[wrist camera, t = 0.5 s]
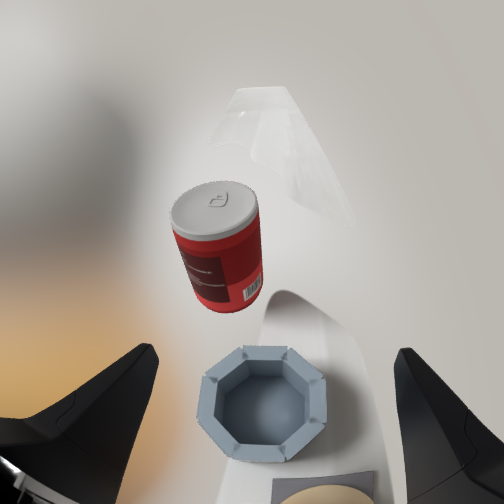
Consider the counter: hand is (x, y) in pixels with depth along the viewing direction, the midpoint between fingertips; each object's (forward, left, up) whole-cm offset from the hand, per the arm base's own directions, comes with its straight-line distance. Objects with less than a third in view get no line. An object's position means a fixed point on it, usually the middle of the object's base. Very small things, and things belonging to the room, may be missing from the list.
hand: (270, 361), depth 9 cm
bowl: (+1, +1, -15) cm, 15 cm away
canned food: (+15, +5, -15) cm, 22 cm away
